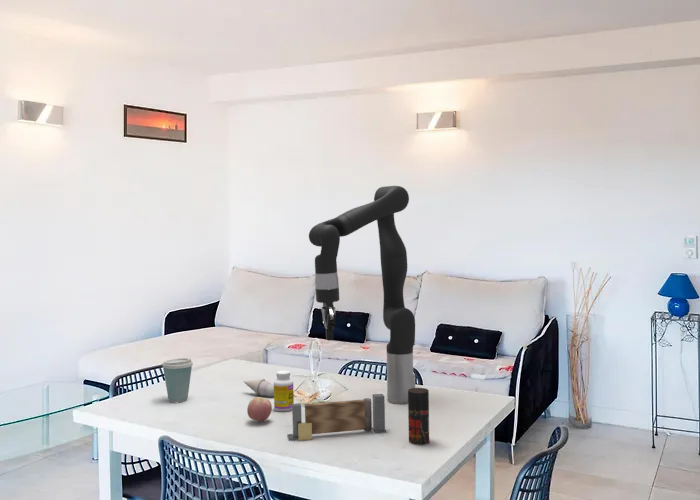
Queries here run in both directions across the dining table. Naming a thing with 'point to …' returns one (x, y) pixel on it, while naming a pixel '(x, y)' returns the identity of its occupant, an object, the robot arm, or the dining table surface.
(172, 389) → the disposable coffee cup
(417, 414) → the deodorant
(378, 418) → the hinge post
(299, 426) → the toy blocks
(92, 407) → the dining table surface
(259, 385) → the ice cream cone
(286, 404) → the supplement bottle
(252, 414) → the apple
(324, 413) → the gate
